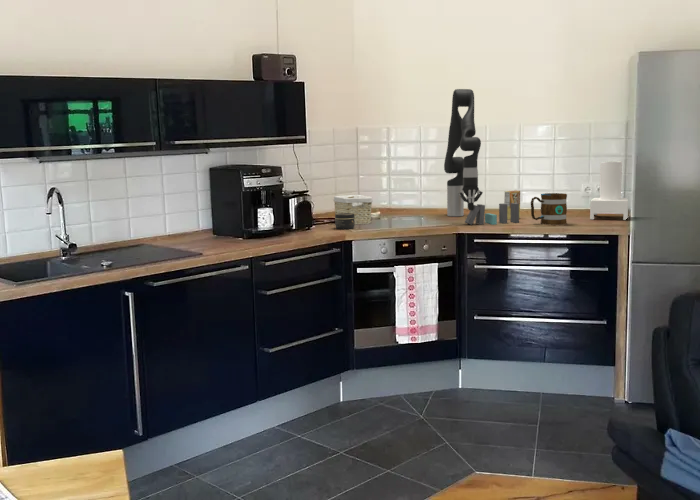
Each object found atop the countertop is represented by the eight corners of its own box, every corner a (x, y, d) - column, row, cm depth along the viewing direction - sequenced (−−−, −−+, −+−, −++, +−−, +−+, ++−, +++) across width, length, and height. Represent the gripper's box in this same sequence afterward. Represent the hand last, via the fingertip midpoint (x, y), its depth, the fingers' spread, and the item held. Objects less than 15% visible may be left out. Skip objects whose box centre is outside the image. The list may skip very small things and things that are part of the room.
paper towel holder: (590, 219, 426) (591, 162, 421) (593, 215, 443) (594, 161, 439) (627, 219, 419) (628, 162, 414) (629, 216, 436) (630, 161, 432)
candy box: (514, 218, 441) (514, 190, 439) (520, 218, 438) (520, 190, 435) (503, 219, 435) (504, 191, 433) (510, 219, 432) (510, 191, 430)
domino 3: (502, 223, 415) (503, 204, 413) (499, 222, 420) (499, 203, 418) (507, 223, 415) (507, 204, 414) (503, 222, 420) (503, 203, 419)
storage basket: (333, 221, 445) (332, 195, 443) (361, 220, 449) (360, 194, 447) (344, 226, 422) (343, 198, 420) (373, 224, 426) (373, 196, 424)
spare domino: (492, 215, 410) (484, 213, 420) (492, 224, 411) (484, 223, 421) (496, 215, 411) (489, 213, 421) (496, 224, 412) (489, 222, 421)
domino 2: (479, 224, 412) (480, 205, 411) (475, 223, 417) (477, 204, 416) (483, 224, 413) (485, 205, 411) (480, 223, 417) (481, 204, 416)
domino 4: (514, 223, 416) (514, 203, 415) (510, 222, 421) (510, 203, 420) (518, 222, 417) (519, 203, 415) (515, 221, 421) (515, 202, 420)
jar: (348, 230, 402) (347, 215, 401) (331, 229, 407) (331, 214, 406) (358, 228, 410) (358, 213, 409) (342, 227, 416) (341, 212, 415)
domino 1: (467, 223, 411) (476, 205, 410) (464, 222, 415) (473, 204, 415) (471, 225, 411) (480, 207, 411) (468, 224, 416) (476, 206, 416)
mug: (558, 221, 419) (558, 192, 417) (572, 223, 406) (572, 194, 404) (524, 223, 414) (524, 194, 412) (537, 225, 401) (537, 195, 399)
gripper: (479, 175, 415) (479, 209, 418) (455, 176, 412) (455, 210, 415) (485, 176, 408) (485, 210, 410) (460, 177, 405) (460, 211, 408)
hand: (470, 210), depth 413 cm, fingers closed
